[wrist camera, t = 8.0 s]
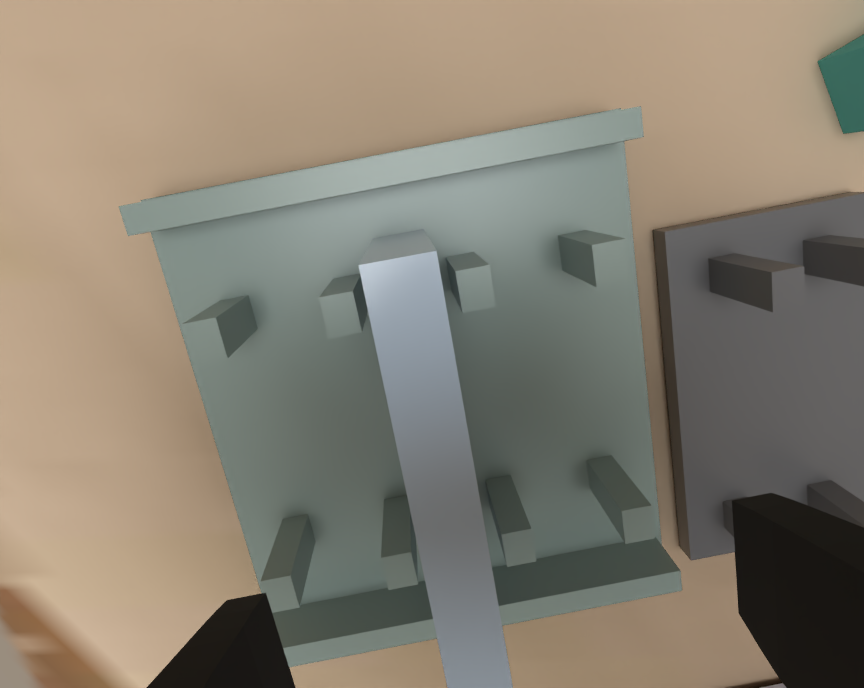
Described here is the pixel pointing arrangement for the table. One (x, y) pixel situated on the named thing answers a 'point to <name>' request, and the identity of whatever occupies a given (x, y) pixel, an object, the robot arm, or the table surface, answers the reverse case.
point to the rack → (476, 364)
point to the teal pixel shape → (846, 84)
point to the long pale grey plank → (435, 455)
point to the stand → (764, 362)
